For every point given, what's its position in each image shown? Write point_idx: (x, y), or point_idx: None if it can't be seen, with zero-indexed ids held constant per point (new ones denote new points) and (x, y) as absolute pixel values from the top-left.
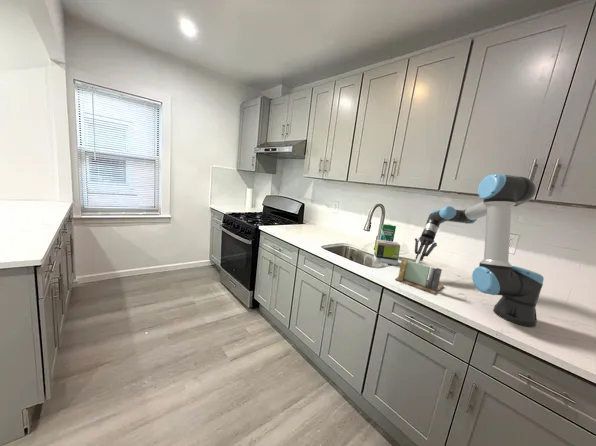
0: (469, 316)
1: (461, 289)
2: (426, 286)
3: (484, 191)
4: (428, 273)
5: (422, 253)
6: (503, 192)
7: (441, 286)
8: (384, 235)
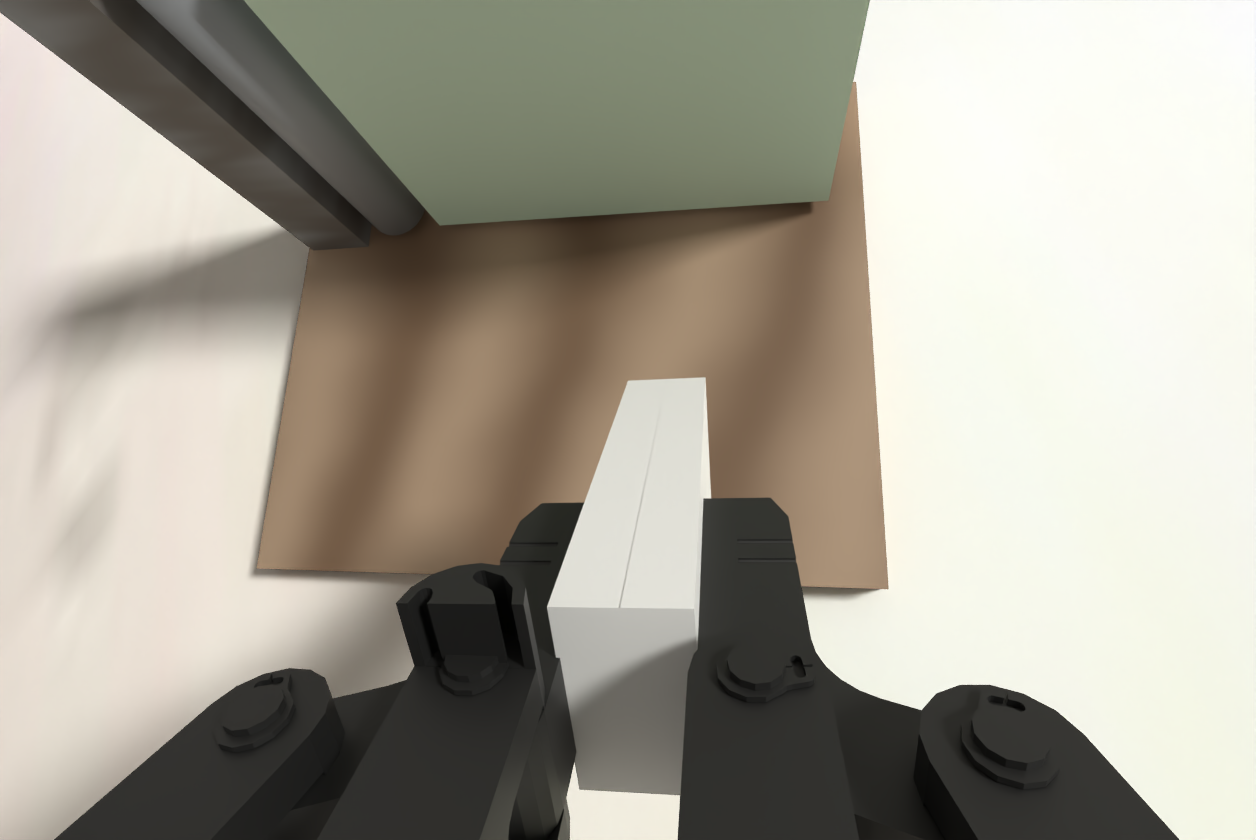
0: None
1: (61, 753)
2: (439, 247)
3: None
4: (315, 67)
5: (469, 588)
6: None
7: (280, 476)
8: None
